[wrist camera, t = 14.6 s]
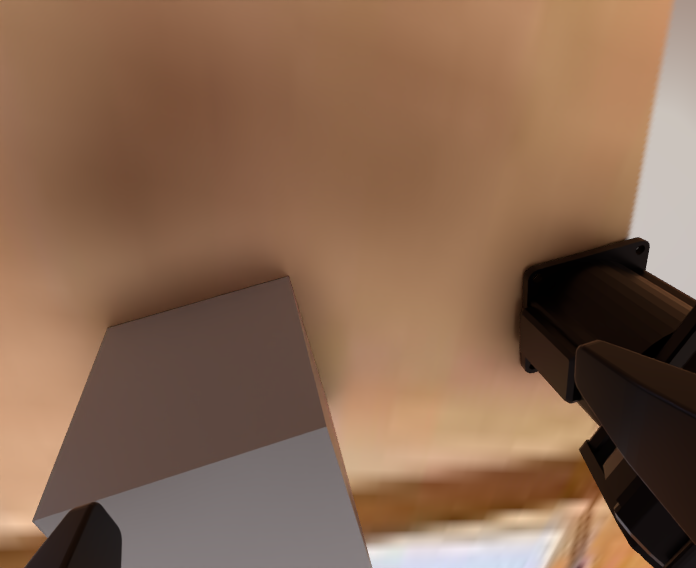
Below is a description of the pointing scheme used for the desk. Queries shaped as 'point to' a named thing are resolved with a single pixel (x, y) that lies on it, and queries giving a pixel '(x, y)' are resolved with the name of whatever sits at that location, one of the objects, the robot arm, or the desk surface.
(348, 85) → the desk surface
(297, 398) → the matte gray cube
